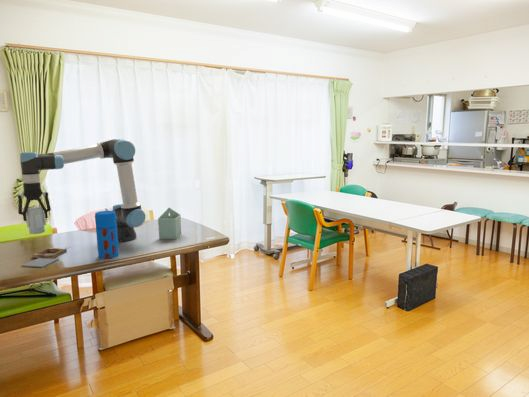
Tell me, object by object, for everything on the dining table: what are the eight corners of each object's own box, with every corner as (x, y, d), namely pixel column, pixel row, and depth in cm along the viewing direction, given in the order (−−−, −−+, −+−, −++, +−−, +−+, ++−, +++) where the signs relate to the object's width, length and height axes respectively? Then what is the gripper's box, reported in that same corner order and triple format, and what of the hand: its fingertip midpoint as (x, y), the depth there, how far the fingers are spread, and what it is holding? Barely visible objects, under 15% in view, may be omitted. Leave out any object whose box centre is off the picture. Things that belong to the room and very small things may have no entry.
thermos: (102, 253, 217) (98, 210, 212) (121, 252, 218) (118, 210, 213) (95, 259, 206) (91, 214, 202) (115, 258, 207) (112, 214, 203)
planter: (165, 241, 240) (163, 211, 236) (159, 238, 245) (157, 209, 242) (187, 236, 251) (186, 207, 247) (181, 234, 256) (179, 205, 253)
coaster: (58, 260, 205) (58, 258, 205) (42, 267, 193) (42, 266, 193) (39, 258, 207) (39, 257, 207) (22, 266, 195) (21, 265, 195)
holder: (66, 252, 218) (66, 248, 218) (52, 258, 207) (51, 255, 206) (48, 251, 220) (48, 247, 220) (32, 257, 209) (32, 254, 209)
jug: (27, 231, 199) (25, 207, 196) (43, 229, 203) (40, 205, 201) (32, 236, 189) (29, 211, 186) (48, 234, 193) (45, 209, 191)
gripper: (9, 184, 183) (15, 230, 187) (54, 181, 196) (59, 224, 200) (7, 183, 189) (12, 227, 193) (51, 180, 202) (56, 221, 206)
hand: (36, 225), depth 197 cm, fingers closed on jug, 7 cm apart
